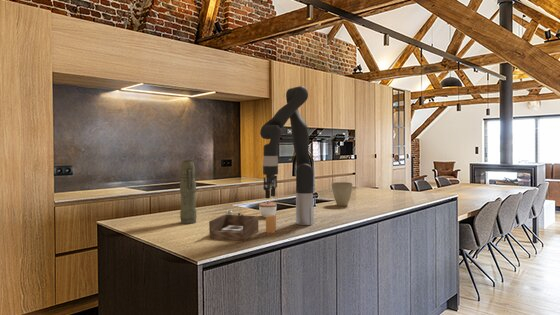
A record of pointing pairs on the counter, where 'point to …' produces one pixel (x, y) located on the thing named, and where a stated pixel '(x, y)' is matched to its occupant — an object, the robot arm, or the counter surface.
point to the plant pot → (342, 192)
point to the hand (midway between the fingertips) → (270, 197)
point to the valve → (231, 213)
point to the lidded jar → (267, 209)
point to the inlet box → (233, 227)
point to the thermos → (188, 193)
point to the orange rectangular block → (270, 223)
